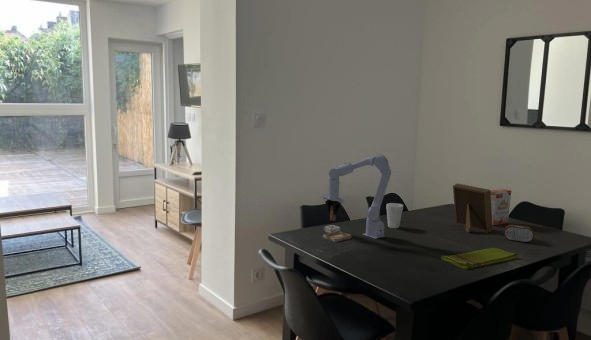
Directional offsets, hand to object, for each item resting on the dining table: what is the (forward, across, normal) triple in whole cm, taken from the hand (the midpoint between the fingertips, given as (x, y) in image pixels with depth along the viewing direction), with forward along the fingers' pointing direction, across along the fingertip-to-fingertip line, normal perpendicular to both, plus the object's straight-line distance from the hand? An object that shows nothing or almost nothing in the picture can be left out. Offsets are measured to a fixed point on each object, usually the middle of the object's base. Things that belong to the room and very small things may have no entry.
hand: (332, 214), depth 259 cm
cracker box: (+11, +44, +97) cm, 107 cm away
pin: (+3, 0, 0) cm, 3 cm away
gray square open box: (+10, 0, 0) cm, 10 cm away
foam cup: (+11, +12, +38) cm, 41 cm away
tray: (+10, +10, -6) cm, 16 cm away
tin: (+11, +69, +72) cm, 100 cm away
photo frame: (+11, +40, +71) cm, 82 cm away
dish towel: (+11, +72, +28) cm, 78 cm away
